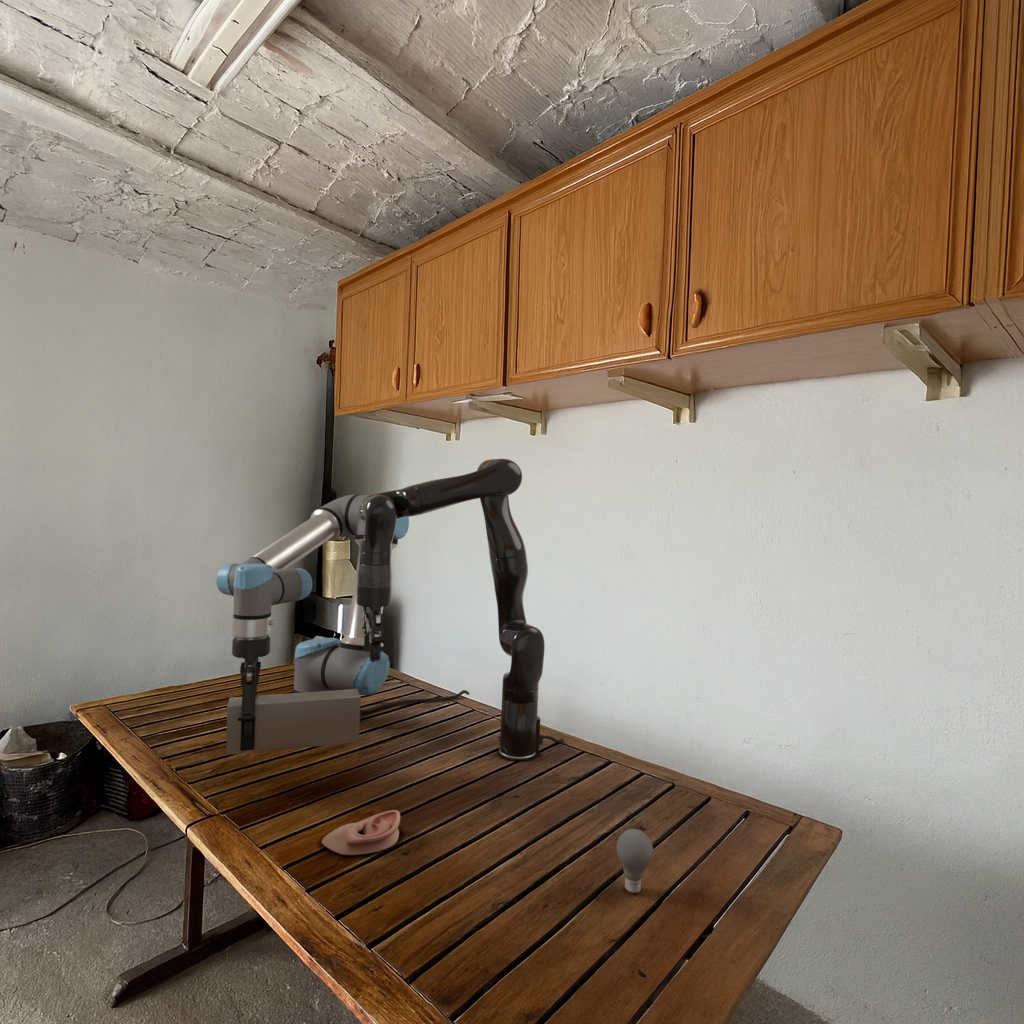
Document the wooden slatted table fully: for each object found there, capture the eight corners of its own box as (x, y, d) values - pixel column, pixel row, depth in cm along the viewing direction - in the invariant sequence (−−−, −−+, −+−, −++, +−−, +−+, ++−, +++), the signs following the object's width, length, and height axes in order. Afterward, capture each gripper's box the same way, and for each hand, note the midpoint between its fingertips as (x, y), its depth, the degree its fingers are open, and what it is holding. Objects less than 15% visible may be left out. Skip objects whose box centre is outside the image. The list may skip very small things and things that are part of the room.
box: (226, 755, 132) (227, 706, 131) (228, 744, 137) (229, 697, 137) (359, 742, 141) (360, 696, 141) (356, 732, 147) (357, 688, 146)
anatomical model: (313, 828, 113) (343, 799, 125) (313, 850, 113) (342, 819, 125) (383, 839, 111) (407, 808, 122) (382, 862, 111) (406, 829, 122)
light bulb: (610, 879, 108) (613, 822, 108) (644, 879, 109) (647, 822, 109) (619, 902, 102) (622, 840, 102) (655, 901, 103) (658, 840, 103)
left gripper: (269, 646, 128) (265, 759, 128) (271, 626, 146) (268, 726, 146) (228, 647, 125) (225, 763, 126) (235, 627, 143) (232, 728, 144)
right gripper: (397, 588, 137) (394, 662, 137) (385, 579, 150) (383, 647, 150) (362, 588, 134) (359, 664, 134) (353, 579, 147) (350, 649, 147)
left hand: (248, 743), depth 136 cm, fingers closed on box, 6 cm apart
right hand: (371, 655), depth 142 cm, fingers open, 8 cm apart
